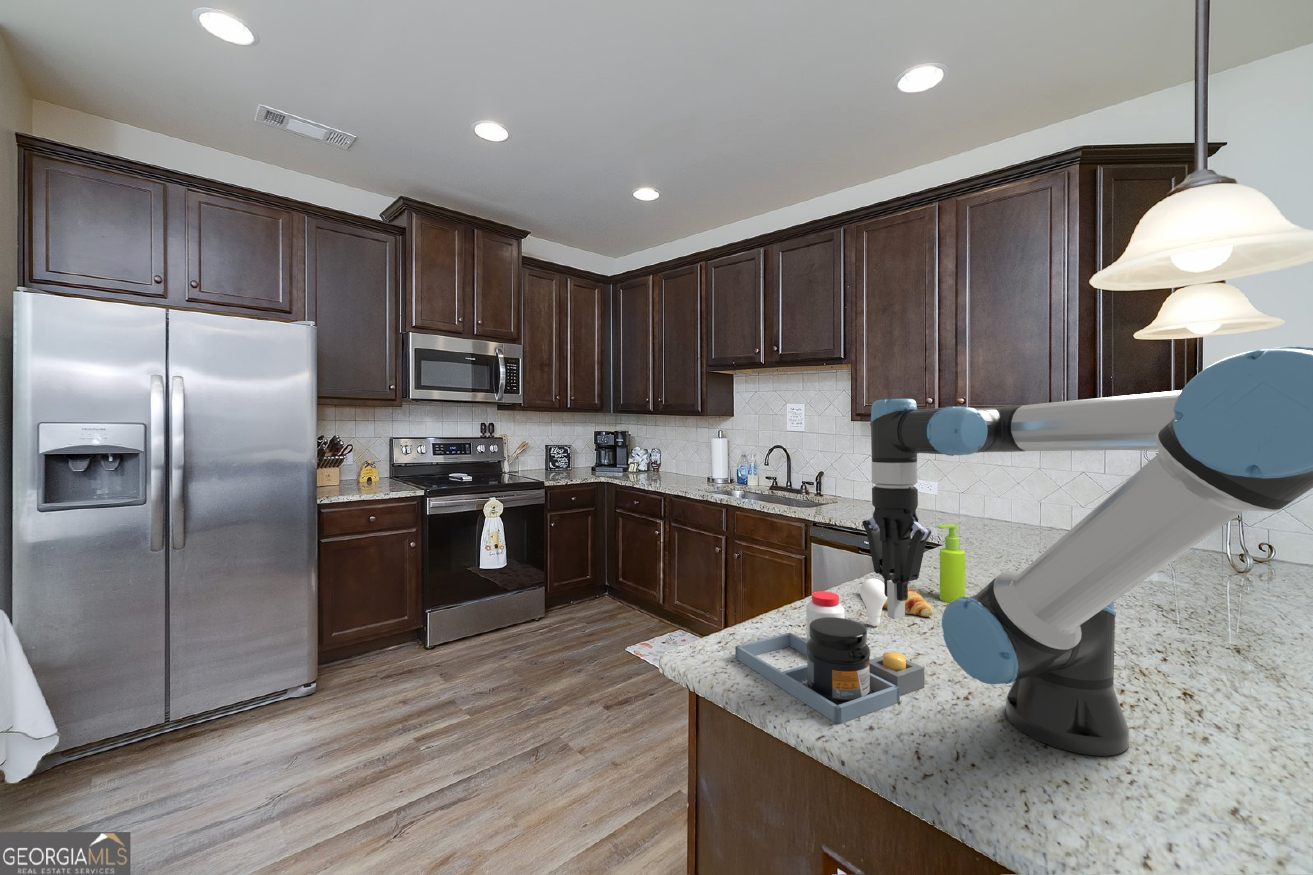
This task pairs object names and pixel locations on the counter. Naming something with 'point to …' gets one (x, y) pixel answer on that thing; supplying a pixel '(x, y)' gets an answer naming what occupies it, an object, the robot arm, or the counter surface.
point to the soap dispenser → (952, 566)
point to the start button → (894, 661)
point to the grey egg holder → (900, 675)
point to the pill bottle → (823, 608)
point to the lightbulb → (873, 599)
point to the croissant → (916, 604)
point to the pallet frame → (793, 678)
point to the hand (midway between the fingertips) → (896, 616)
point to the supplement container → (838, 659)
